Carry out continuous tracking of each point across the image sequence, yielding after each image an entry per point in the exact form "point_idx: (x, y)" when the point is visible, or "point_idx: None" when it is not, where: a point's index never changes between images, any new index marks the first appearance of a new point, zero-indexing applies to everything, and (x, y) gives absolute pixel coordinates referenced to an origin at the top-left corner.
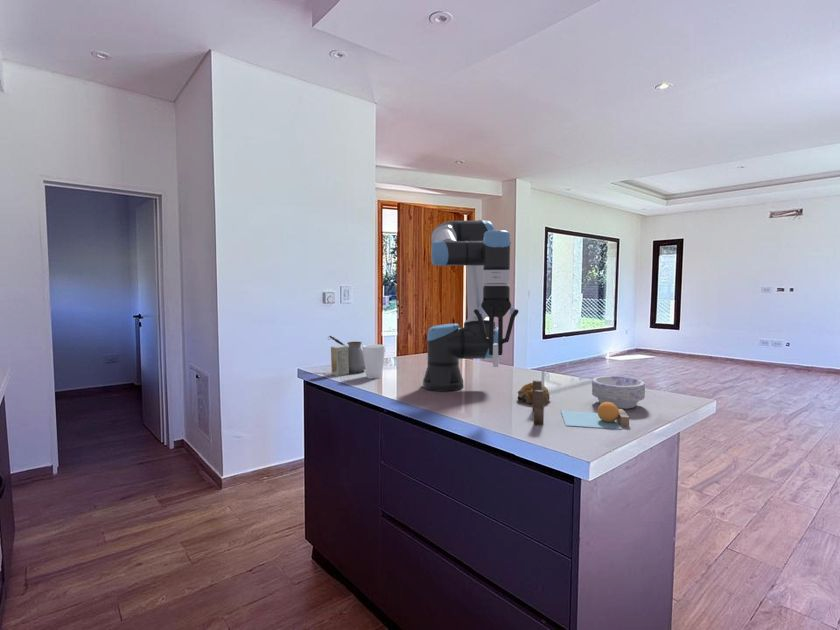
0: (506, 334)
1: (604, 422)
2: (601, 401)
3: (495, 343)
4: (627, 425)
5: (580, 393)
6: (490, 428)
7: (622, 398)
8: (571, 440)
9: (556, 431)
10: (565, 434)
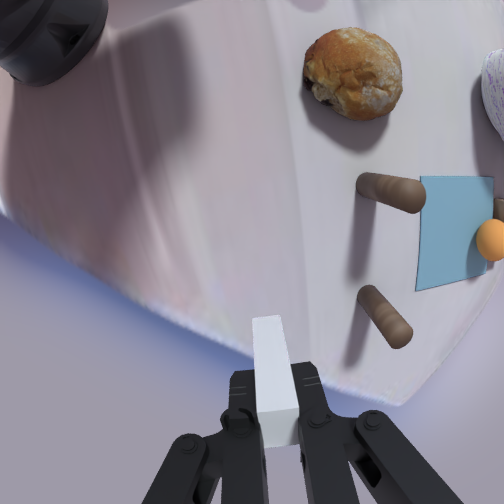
0: (371, 487)
1: (476, 246)
2: (489, 112)
3: (274, 415)
4: None
5: (435, 6)
6: None
7: None
8: (404, 357)
9: None
10: None
